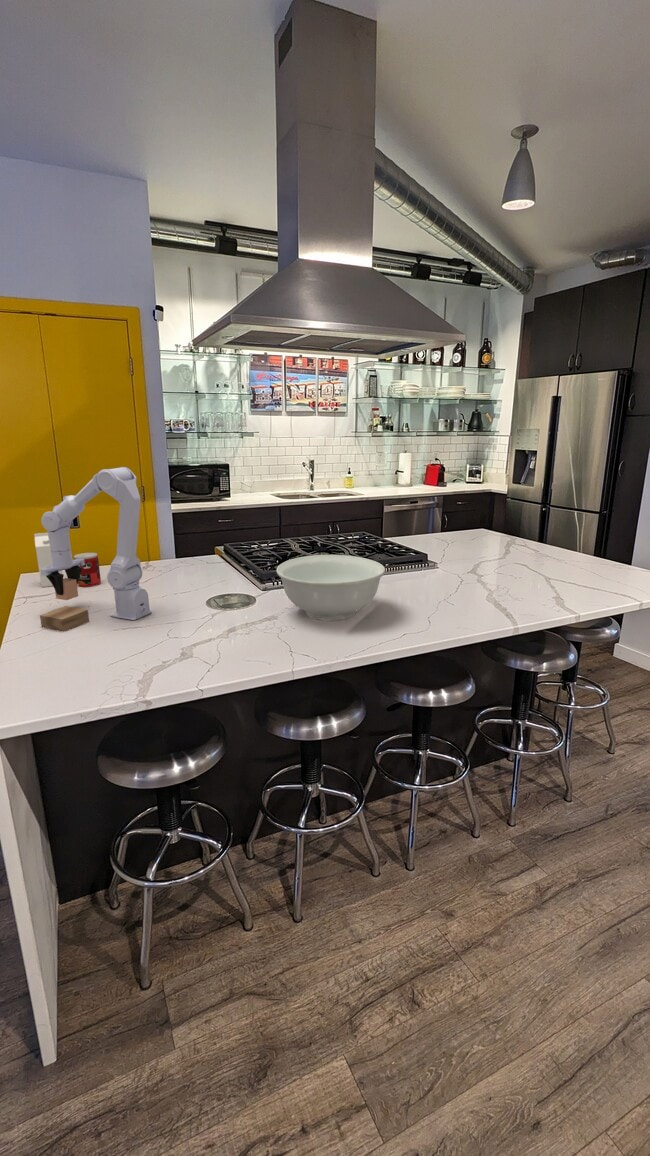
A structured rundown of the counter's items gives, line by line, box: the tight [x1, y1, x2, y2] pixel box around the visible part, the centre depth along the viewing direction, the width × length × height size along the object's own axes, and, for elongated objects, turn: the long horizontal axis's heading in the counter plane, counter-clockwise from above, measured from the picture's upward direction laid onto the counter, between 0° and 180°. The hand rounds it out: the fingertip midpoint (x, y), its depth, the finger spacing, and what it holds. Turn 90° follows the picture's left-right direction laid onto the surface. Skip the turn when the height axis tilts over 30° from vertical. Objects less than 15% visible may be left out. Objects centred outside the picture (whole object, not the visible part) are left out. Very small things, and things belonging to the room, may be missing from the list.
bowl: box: [276, 554, 386, 621], centre depth 167 cm, size 32×32×15 cm
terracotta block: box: [54, 577, 79, 601], centre depth 172 cm, size 4×4×6 cm
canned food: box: [73, 552, 102, 588], centre depth 200 cm, size 8×8×11 cm
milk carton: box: [33, 532, 63, 588], centre depth 200 cm, size 7×7×19 cm
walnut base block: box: [39, 605, 90, 633], centre depth 160 cm, size 9×9×4 cm
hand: (67, 592), depth 172 cm, fingers closed on terracotta block, 4 cm apart
